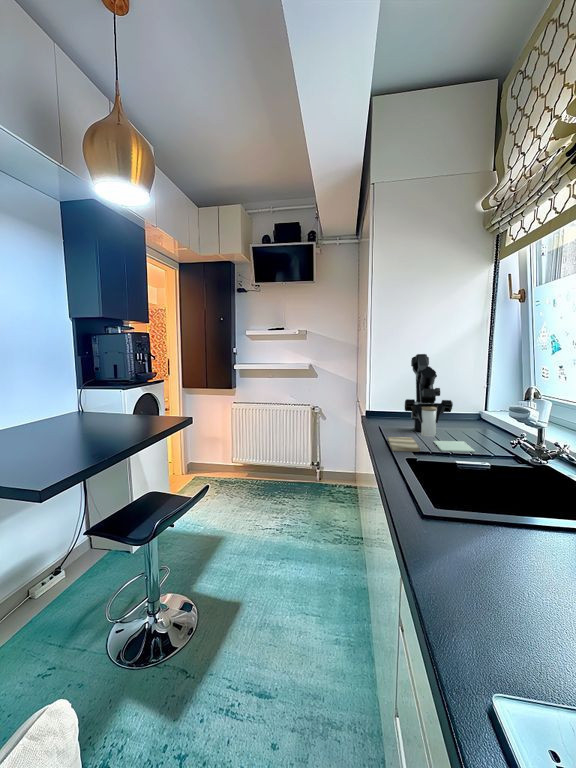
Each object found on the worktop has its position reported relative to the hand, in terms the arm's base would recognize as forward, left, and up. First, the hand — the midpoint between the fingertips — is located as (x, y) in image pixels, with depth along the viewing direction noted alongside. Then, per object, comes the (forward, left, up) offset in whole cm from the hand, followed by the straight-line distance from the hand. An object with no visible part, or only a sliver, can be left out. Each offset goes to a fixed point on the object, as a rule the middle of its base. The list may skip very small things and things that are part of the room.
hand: (429, 422), depth 134 cm
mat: (-7, +12, -12) cm, 18 cm away
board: (-7, -9, -12) cm, 17 cm away
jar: (-1, 0, -6) cm, 6 cm away
